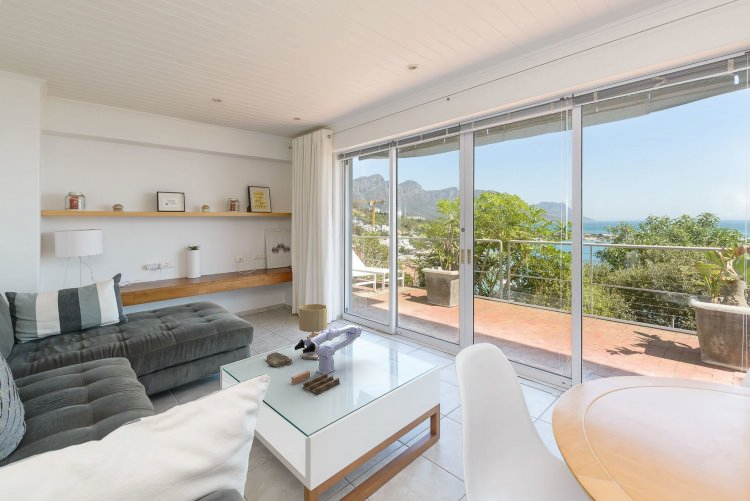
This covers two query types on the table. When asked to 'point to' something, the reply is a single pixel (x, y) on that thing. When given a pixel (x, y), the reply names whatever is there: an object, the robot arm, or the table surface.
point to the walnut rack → (320, 384)
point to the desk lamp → (312, 323)
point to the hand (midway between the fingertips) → (298, 350)
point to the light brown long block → (300, 377)
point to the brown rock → (278, 359)
